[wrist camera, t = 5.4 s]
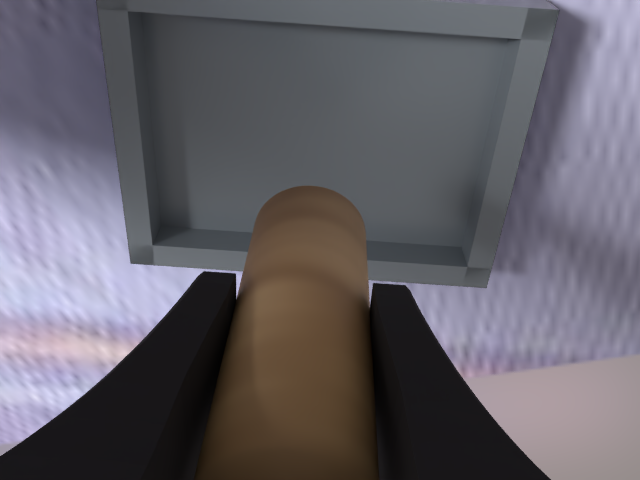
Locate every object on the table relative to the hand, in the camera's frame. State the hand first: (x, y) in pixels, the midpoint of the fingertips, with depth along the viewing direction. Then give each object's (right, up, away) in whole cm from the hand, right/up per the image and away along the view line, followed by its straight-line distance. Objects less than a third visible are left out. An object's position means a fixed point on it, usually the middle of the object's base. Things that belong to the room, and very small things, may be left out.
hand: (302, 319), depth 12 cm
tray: (0, +5, +8) cm, 9 cm away
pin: (0, +2, +2) cm, 3 cm away
